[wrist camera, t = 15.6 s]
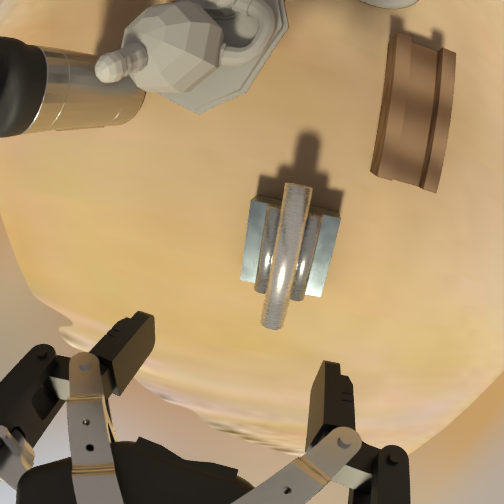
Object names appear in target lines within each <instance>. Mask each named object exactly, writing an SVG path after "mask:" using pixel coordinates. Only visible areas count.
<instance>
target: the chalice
mask: <svg viewBox="0 0 504 504" xmlns="http://www.w3.org/2000/svg"><path fill="white" fill-rule="evenodd" d="M360 1H362V2H364V3H366V4H369V5H372V6H376V7H380V8H386V9H401V8H406V7H409V6H411V5H413V4H415V3H416V2H417V1H418V0H360Z"/></svg>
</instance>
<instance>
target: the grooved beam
mask: <svg viewBox="0 0 504 504" xmlns="http://www.w3.org/2000/svg"><path fill="white" fill-rule="evenodd" d="M455 65H456V53H454V52H452V51H450V50H447V49H445V48H442V49H441V50H439V51H438V52H437V51H435V50H432V49H429V48H426V47H424V46H421V45H418V44H415V43H412V36H409V35H406V34H403V33H400V32H397V33H396V35H395V36H394V37H393V39H392V40H391V41H390V43H389V44H388V54H387V64H386V74H385V82H384V90H383V98H382V105H381V112H380V119H379V125H378V131H377V137H376V143H375V148H374V154H373V159H372V164H371V169H370V172H372V173H373V174H374V175H376V176H377V177H380V178H384V179H388V180H397V181H401V182H404V183H408V184H411V185H415V186H418V187H420V188H422V189H424V190H427V191H430V192H433V193H437V189H438V184H439V180H440V176H441V171H442V166H443V161H444V156H445V151H446V145H447V139H448V133H449V126H450V119H451V111H452V103H453V93H454V81H455Z"/></svg>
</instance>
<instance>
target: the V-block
mask: <svg viewBox="0 0 504 504" xmlns="http://www.w3.org/2000/svg"><path fill="white" fill-rule="evenodd" d="M281 205H282V200H280V199H274V198H269V197H264V196H258V195H256V196H255V197H254V198H253V199H252V200H251V204H250V211H249V218H248V226H247V233H246V241H245V248H244V256H243V263H242V271H241V278H240V280H243V281H248V282H252V283H255V286H254V289H255V291H257V292H259V293H262V294H266V288H267V283H268V278H269V272H270V267H271V261H272V256H273V250H274V245H275V239H276V233H277V228H278V222H279V216H280V211H281ZM340 219H341V218H340V213H339V212H338V211H333V210H329V209H324V208H319V207H315V206H309V212H308V217H307V222H306V227H305V232H304V237H303V242H302V246H301V251H300V256H299V261H298V265H297V270H296V275H295V279H294V284H293V288H292V292H291V297H290V299H291V300H294V301H302V300H303V299H304V296H305V294H307V295H311V296H316V297H321V294H322V290H323V287H324V283H325V279H326V276H327V272H328V268H329V264H330V260H331V257H332V253H333V249H334V245H335V240H336V236H337V232H338V228H339V224H340Z"/></svg>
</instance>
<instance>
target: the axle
mask: <svg viewBox="0 0 504 504" xmlns="http://www.w3.org/2000/svg"><path fill="white" fill-rule="evenodd" d="M312 191H313V188H312V187H309V186H306V185H301V184H296V183H285V187H284V193H283V199H282V205H281V211H280V216H279V222H278V228H277V233H276V239H275V245H274V250H273V256H272V261H271V267H270V272H269V278H268V283H267V288H266V294H265V299H264V304H263V310H262V315H261V320H260V323H261V324H262V325H263V326H264V327H266V328H268V329H272V330H278V329H281V328H283V326H284V322H285V318H286V314H287V310H288V306H289V301H290V297H291V292H292V288H293V284H294V279H295V275H296V270H297V265H298V261H299V256H300V251H301V246H302V242H303V237H304V232H305V227H306V222H307V217H308V212H309V206H310V201H311V196H312Z"/></svg>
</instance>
